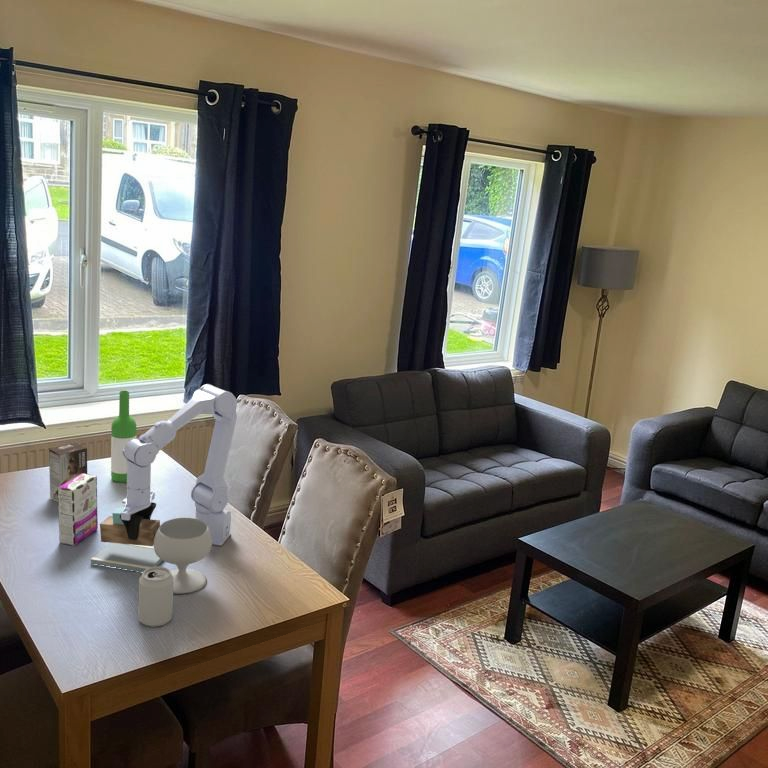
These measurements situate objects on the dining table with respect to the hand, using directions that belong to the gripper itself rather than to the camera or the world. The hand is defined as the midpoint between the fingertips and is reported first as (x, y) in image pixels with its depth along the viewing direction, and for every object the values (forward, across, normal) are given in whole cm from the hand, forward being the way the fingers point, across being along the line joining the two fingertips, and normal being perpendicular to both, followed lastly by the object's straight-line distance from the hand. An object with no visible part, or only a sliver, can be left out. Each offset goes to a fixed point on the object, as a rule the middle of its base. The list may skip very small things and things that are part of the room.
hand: (138, 534), depth 191 cm
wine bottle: (+8, -48, -29) cm, 57 cm away
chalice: (+8, +6, +15) cm, 18 cm away
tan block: (+2, 0, -2) cm, 3 cm away
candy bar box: (+8, -8, -21) cm, 24 cm away
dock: (+8, 0, -2) cm, 8 cm away
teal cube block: (-3, 0, -4) cm, 5 cm away
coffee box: (+8, -30, -37) cm, 48 cm away
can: (+8, +24, +16) cm, 29 cm away
